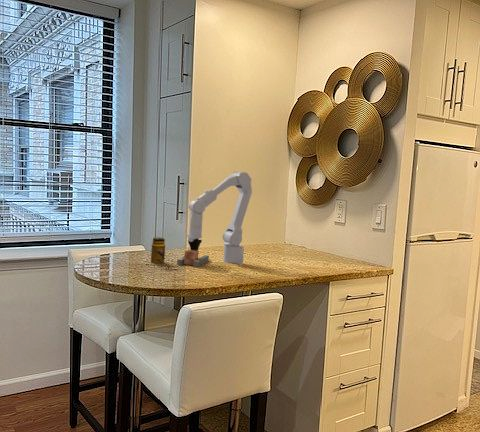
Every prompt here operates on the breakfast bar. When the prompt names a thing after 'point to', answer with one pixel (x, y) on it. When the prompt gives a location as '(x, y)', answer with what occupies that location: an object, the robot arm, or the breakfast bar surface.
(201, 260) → the chute
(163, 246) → the condiment
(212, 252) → the breakfast bar surface
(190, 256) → the block
